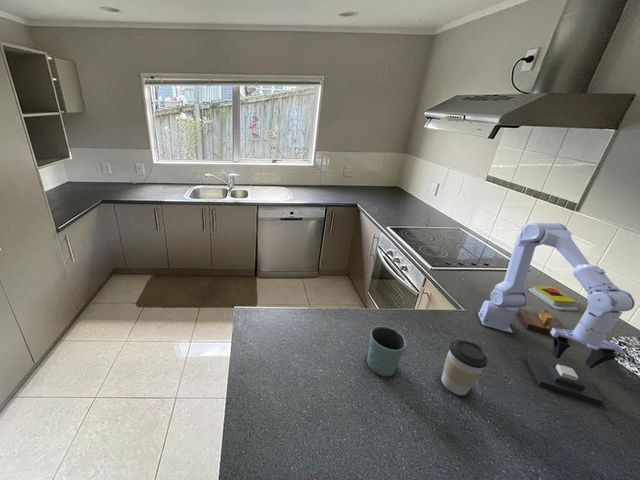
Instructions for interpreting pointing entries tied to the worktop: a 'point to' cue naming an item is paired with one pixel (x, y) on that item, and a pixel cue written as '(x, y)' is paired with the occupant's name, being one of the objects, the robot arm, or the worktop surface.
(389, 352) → the teal cup
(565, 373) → the white square block
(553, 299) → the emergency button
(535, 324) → the brown flat block
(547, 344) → the worktop surface
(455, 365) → the coffee cup
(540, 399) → the worktop surface
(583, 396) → the dark grey base plate
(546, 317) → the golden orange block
